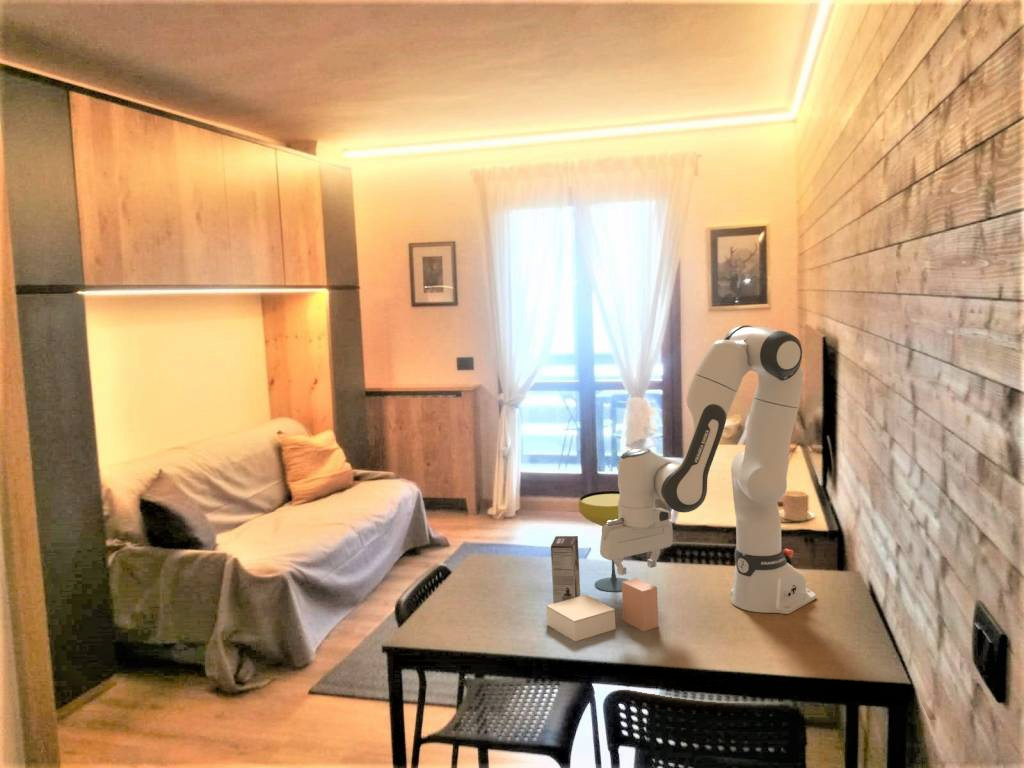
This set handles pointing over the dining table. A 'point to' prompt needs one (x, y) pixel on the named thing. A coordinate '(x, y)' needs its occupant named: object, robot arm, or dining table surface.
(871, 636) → the dining table surface
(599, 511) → the cocktail glass
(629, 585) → the carton
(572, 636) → the podium
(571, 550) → the coffee box
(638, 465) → the robot arm
